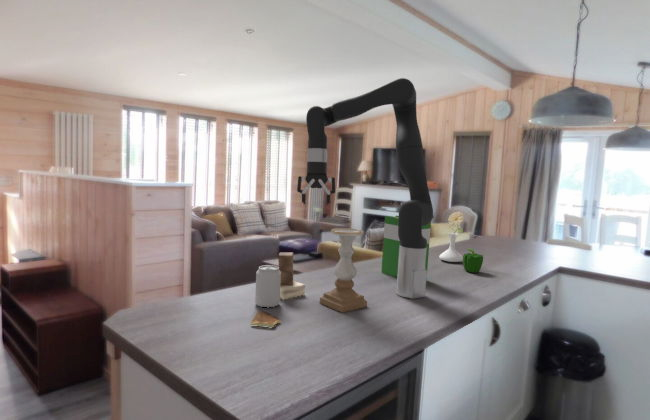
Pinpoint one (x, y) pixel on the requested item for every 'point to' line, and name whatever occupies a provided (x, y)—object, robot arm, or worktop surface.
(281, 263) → the walnut pillar
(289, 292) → the birch block
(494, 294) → the worktop surface
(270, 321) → the sandwich
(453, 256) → the flower in vase
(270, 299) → the can
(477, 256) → the bell pepper
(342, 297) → the candle holder
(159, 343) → the worktop surface
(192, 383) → the worktop surface
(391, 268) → the green and white box
